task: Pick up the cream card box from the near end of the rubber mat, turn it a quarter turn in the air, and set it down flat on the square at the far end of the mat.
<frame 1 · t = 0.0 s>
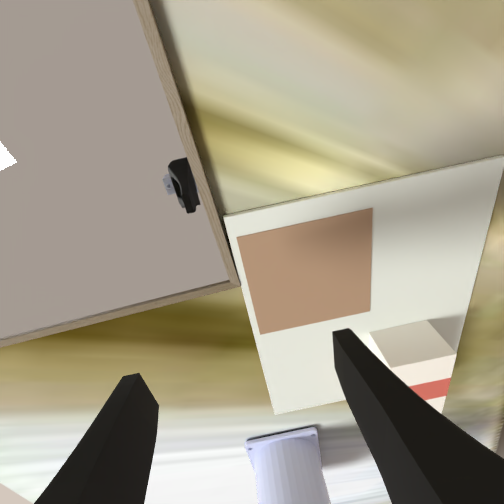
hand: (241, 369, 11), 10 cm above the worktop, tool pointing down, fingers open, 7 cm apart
mat: (361, 312, 24), on the worktop
card box: (394, 357, 27), resting on mat
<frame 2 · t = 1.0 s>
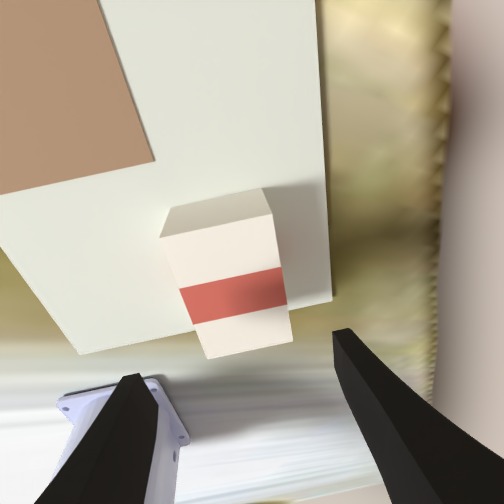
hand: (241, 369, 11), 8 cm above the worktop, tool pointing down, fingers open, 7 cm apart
mat: (149, 171, 15), on the worktop
card box: (232, 259, 18), resting on mat
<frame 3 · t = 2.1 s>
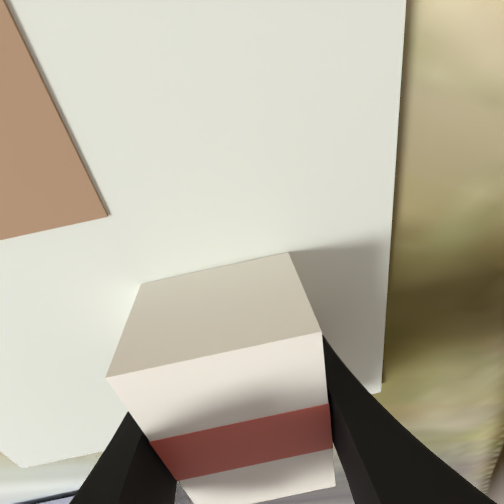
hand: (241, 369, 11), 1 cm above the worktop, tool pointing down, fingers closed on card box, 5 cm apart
mat: (104, 228, 9), on the worktop
card box: (239, 349, 12), resting on mat, touching gripper
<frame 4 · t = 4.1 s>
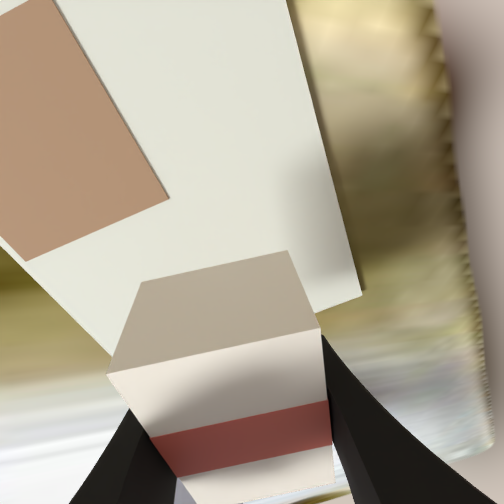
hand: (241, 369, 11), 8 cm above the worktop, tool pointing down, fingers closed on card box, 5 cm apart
mat: (166, 207, 16), on the worktop
card box: (239, 346, 12), point 7 cm above the worktop, touching gripper
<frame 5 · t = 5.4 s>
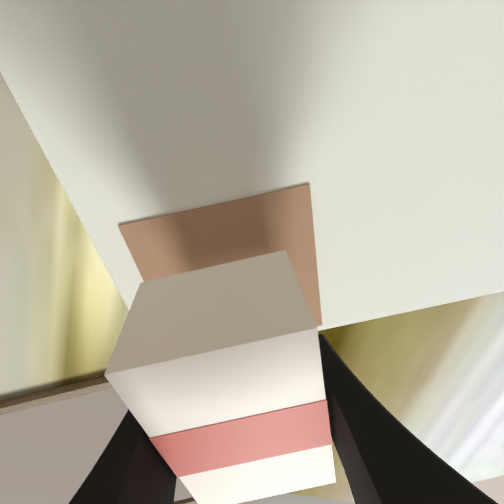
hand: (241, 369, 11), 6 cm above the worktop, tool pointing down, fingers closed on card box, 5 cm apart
picture frame: (108, 453, 24), on the worktop
mat: (318, 189, 14), on the worktop
card box: (239, 346, 12), point 5 cm above the worktop, touching gripper
when the fingers open (3 cm above the worktop, at t = 6.3 s): card box drops 2 cm, resting on mat.
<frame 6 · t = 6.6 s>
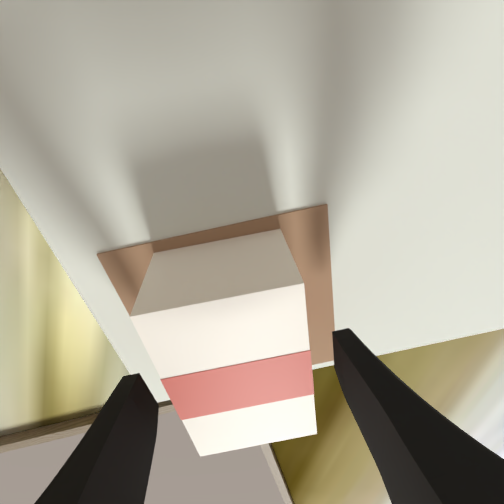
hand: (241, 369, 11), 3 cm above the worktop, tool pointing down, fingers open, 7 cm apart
picture frame: (96, 491, 22), on the worktop
mat: (336, 209, 12), on the worktop
card box: (236, 316, 13), point 1 cm above the worktop, touching mat
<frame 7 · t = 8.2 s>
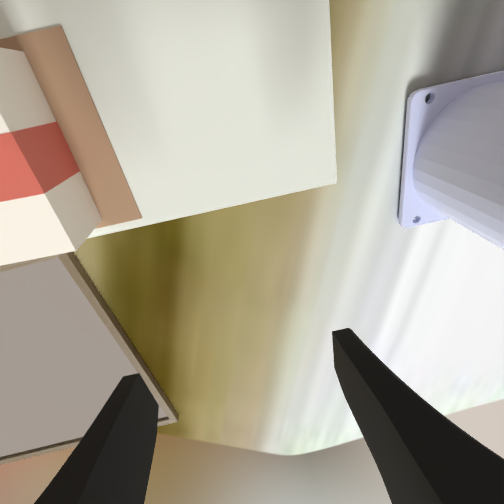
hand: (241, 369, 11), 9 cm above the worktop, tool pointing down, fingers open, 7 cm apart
mat: (82, 39, 13), on the worktop
card box: (19, 156, 15), point 1 cm above the worktop, touching mat
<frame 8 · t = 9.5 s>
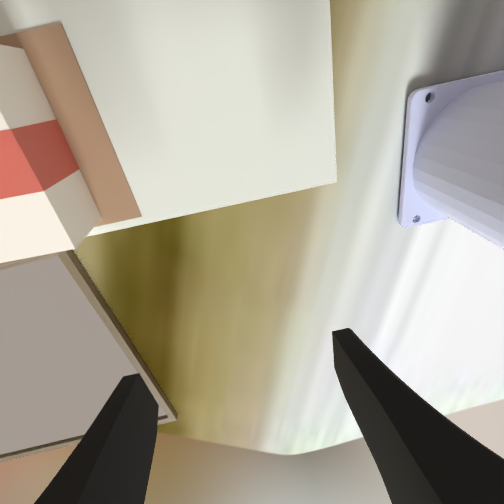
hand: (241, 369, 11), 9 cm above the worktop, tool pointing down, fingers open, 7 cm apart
mat: (82, 36, 13), on the worktop
card box: (18, 154, 15), point 1 cm above the worktop, touching mat
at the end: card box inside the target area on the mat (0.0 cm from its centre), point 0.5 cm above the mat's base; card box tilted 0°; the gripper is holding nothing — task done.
